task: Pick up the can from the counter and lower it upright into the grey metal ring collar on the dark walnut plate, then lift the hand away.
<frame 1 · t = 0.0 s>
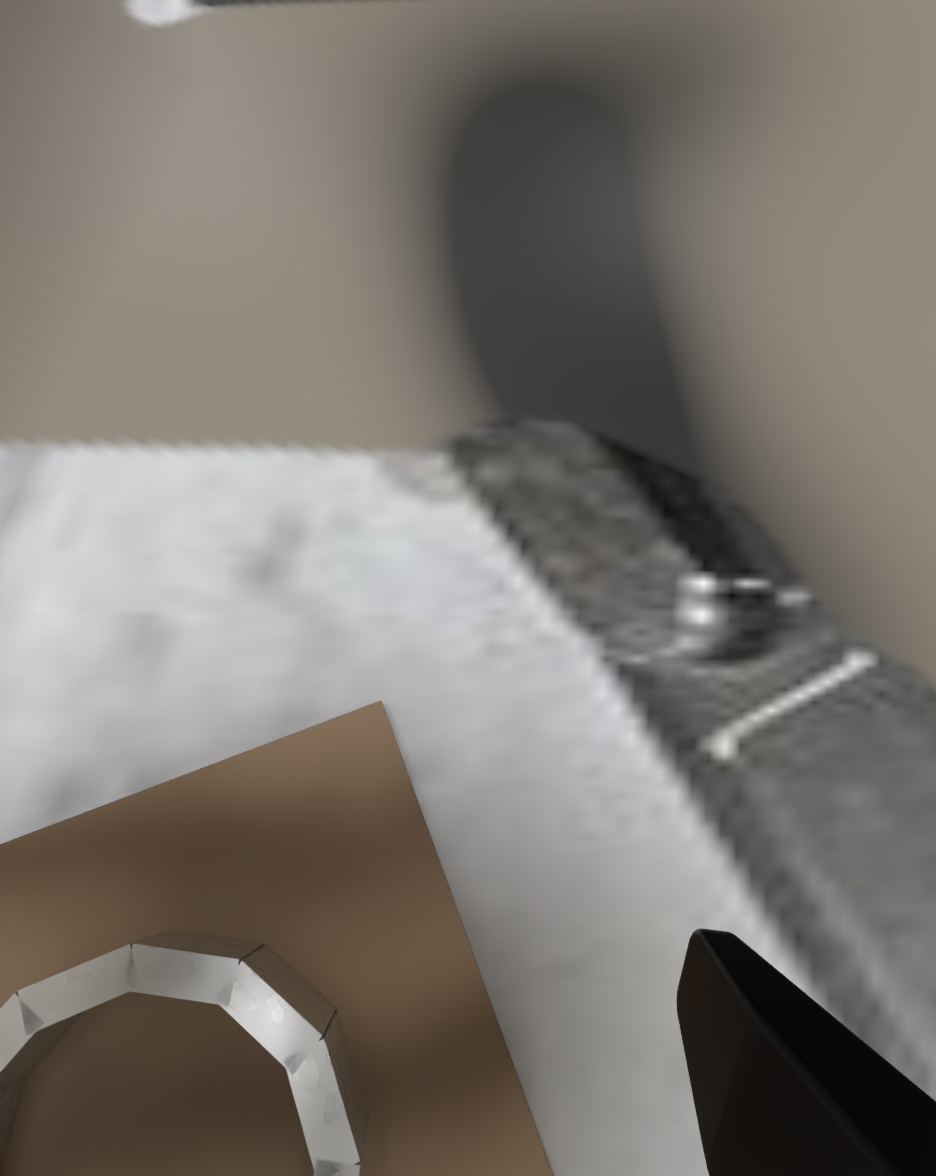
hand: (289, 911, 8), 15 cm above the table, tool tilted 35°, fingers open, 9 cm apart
ring collar: (147, 1174, 17), on the base plate, point 2 cm above the table
base plate: (180, 1133, 19), on the table
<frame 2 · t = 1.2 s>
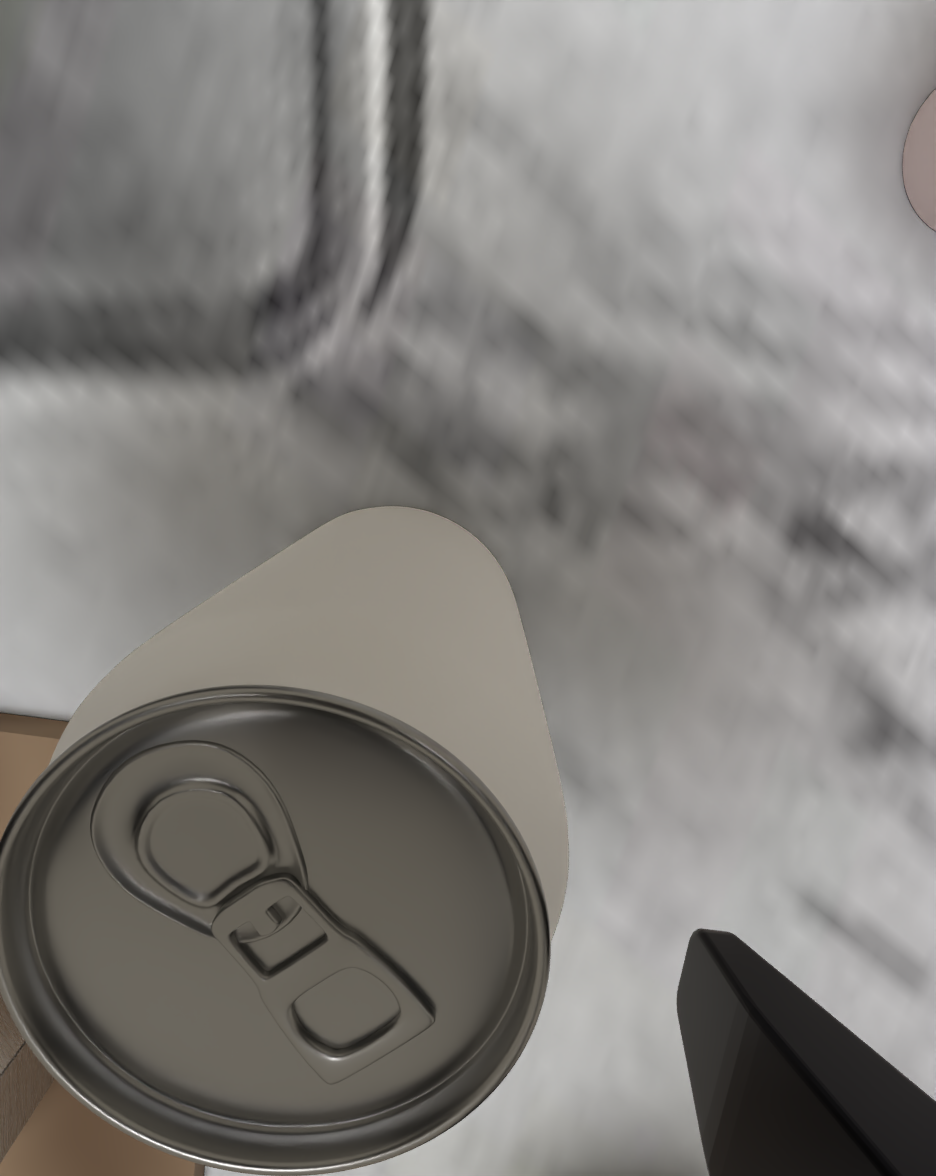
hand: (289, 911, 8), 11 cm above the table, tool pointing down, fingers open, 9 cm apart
can: (397, 623, 19), on the table
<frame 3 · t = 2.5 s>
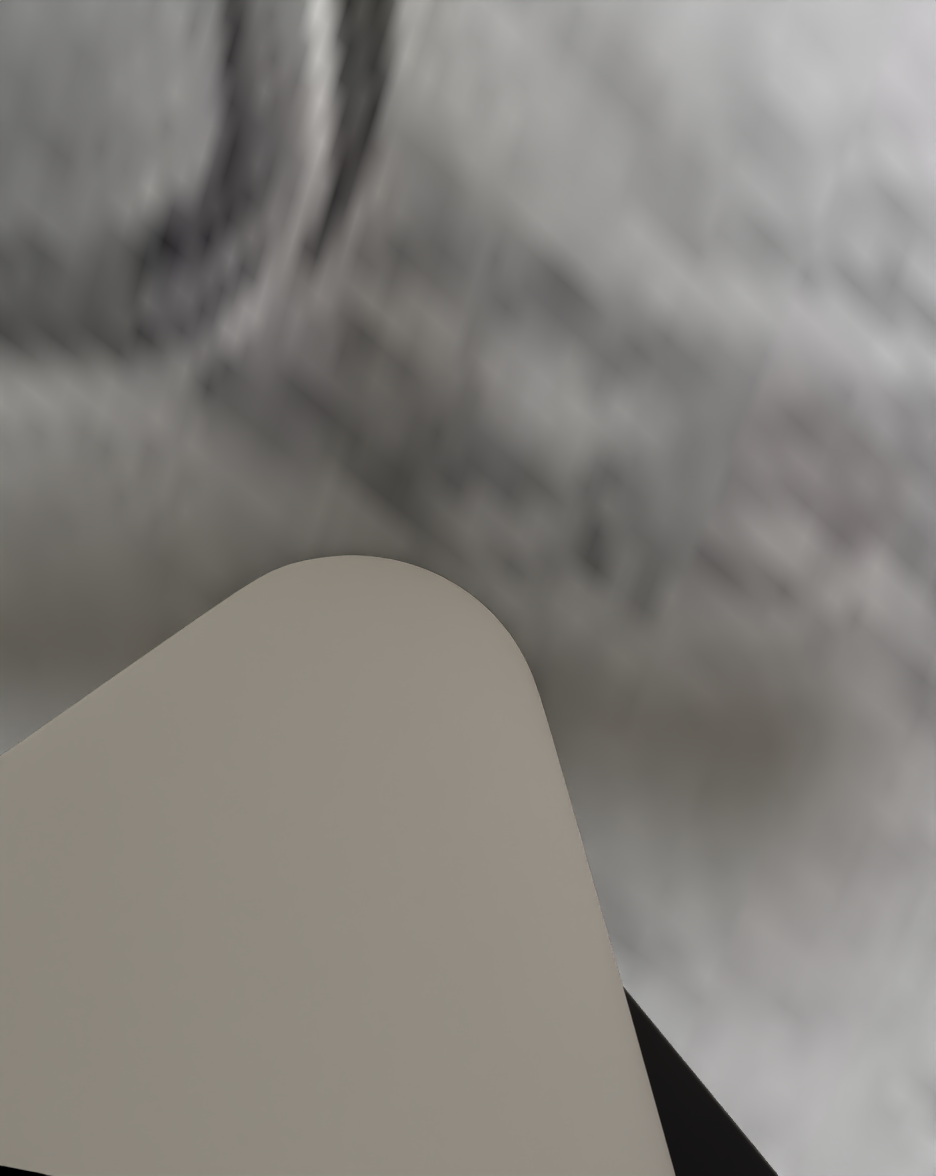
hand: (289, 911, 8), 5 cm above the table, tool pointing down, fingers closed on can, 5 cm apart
can: (363, 722, 13), on the table, touching gripper
when the fingers open (7 cm above the table, at t = 8.3 s): can stays where it is, resting on base plate.
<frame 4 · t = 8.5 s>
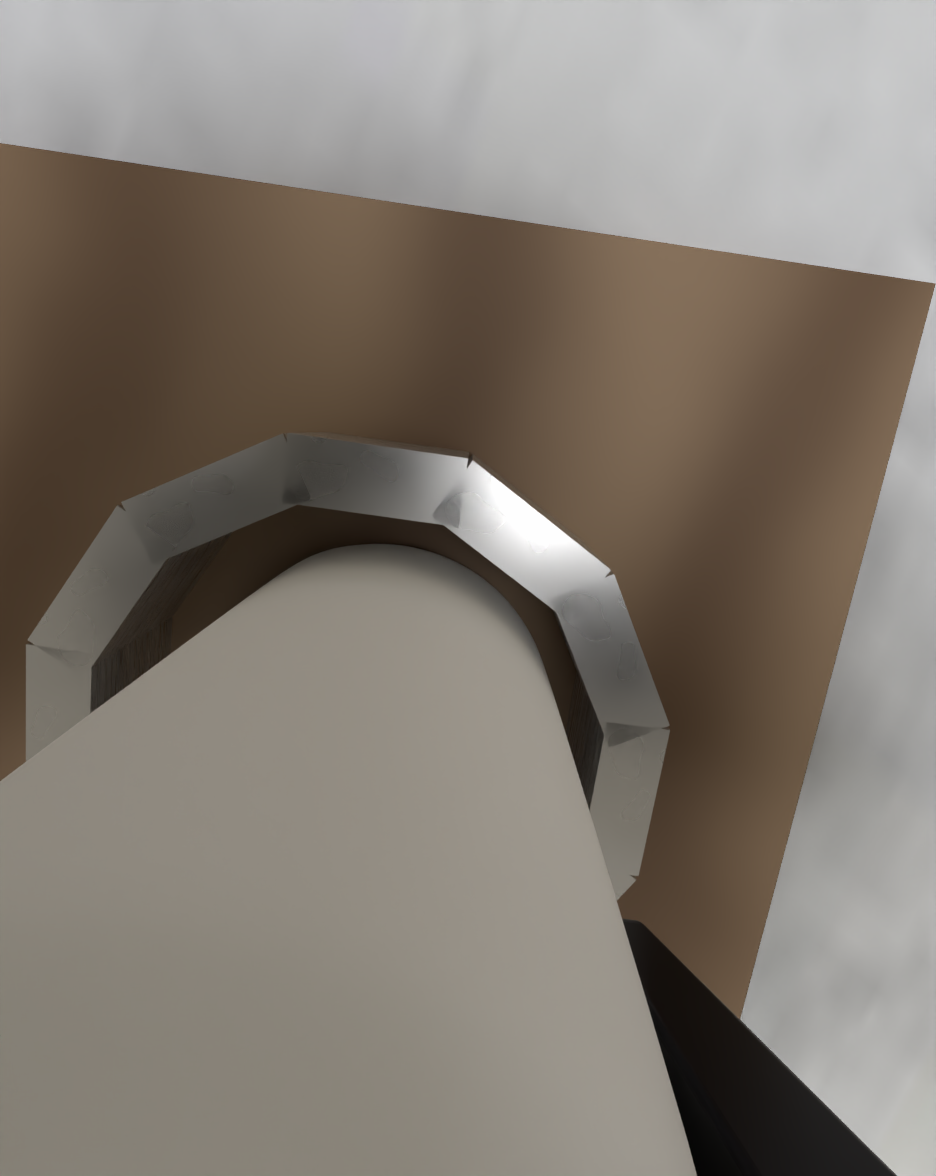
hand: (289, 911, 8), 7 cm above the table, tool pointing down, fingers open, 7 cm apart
can: (386, 694, 14), point 1 cm above the table, touching base plate
ring collar: (358, 725, 13), on the base plate, point 2 cm above the table
base plate: (376, 677, 15), on the table
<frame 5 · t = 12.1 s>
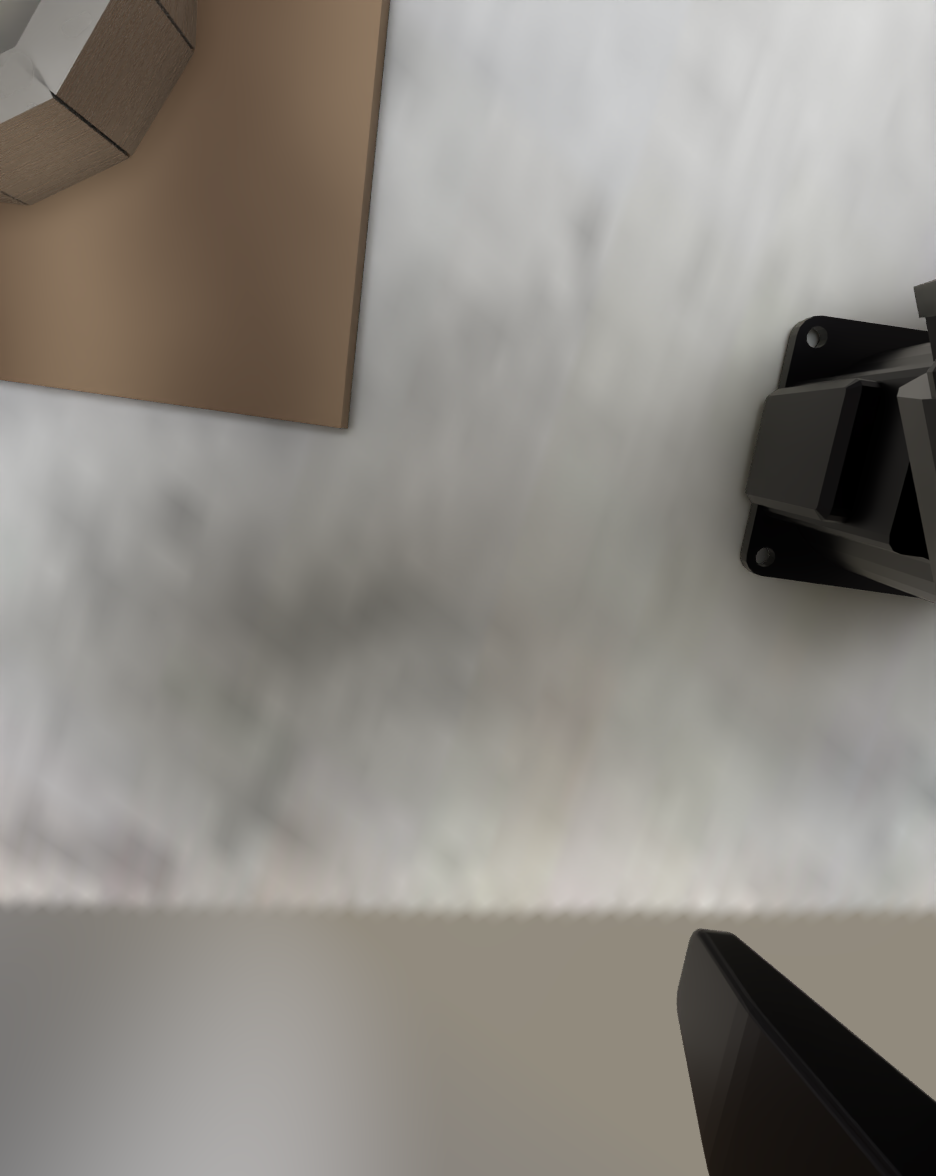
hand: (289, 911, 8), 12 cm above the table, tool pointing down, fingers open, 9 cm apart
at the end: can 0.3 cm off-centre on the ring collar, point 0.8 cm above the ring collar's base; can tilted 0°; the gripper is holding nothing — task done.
